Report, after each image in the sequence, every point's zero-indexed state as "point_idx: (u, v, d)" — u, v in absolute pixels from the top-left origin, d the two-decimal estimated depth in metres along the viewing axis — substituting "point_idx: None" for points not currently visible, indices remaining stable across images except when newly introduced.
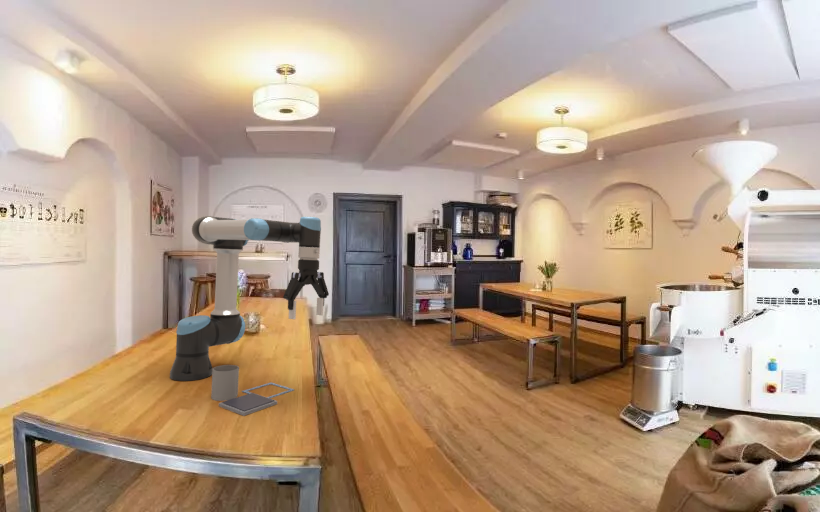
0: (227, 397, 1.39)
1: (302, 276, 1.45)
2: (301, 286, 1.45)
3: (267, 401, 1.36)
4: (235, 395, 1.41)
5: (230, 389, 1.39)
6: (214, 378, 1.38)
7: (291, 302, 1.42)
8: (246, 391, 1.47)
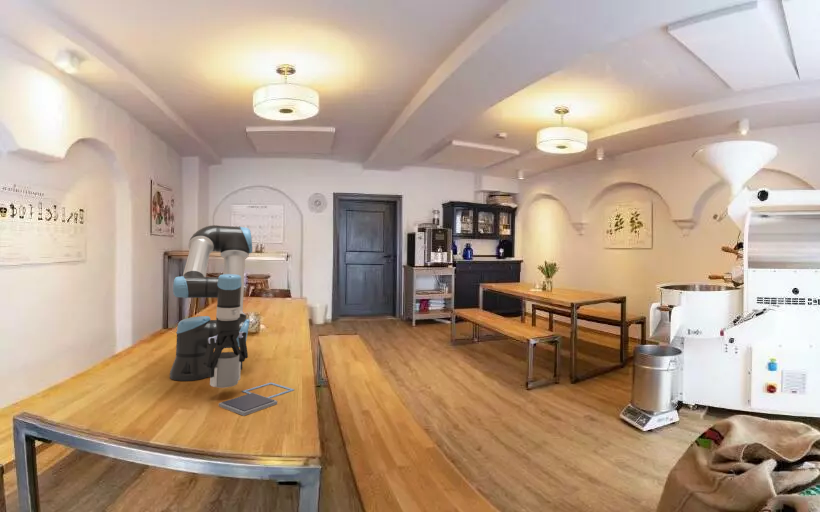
0: (227, 384, 1.39)
1: (219, 338, 1.39)
2: (220, 350, 1.39)
3: (267, 401, 1.36)
4: (235, 382, 1.42)
5: (231, 376, 1.40)
6: None
7: (211, 370, 1.37)
8: (246, 391, 1.47)
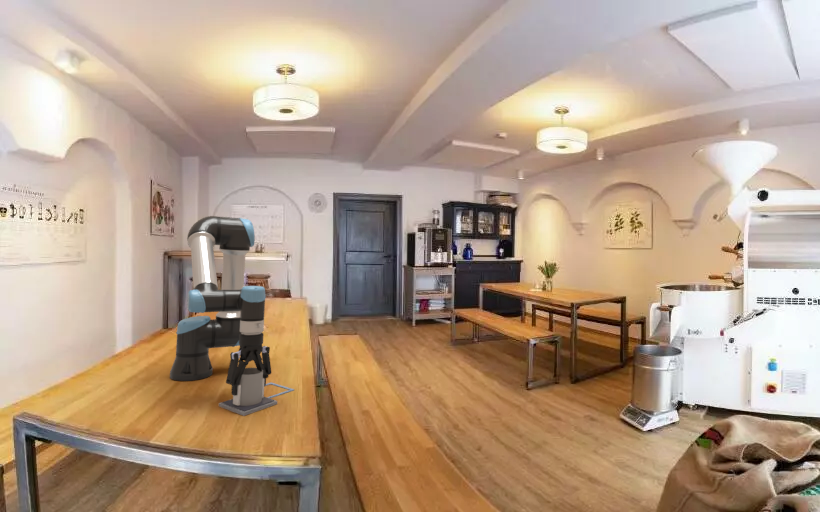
0: (252, 402, 1.32)
1: (243, 354, 1.31)
2: (244, 366, 1.32)
3: (267, 401, 1.36)
4: (259, 400, 1.34)
5: (255, 393, 1.32)
6: None
7: (235, 387, 1.30)
8: None
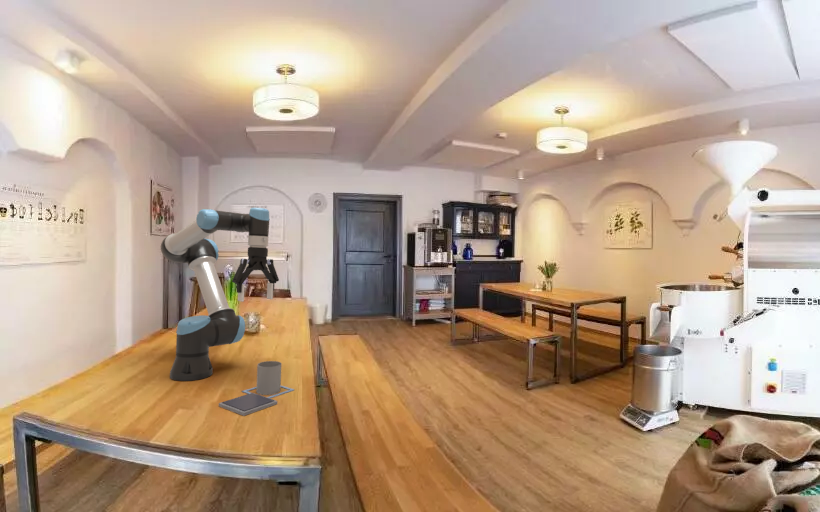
0: (272, 391, 1.46)
1: (251, 262, 1.58)
2: (249, 271, 1.58)
3: (267, 401, 1.36)
4: (278, 390, 1.49)
5: (274, 384, 1.47)
6: (259, 373, 1.46)
7: (239, 286, 1.55)
8: (246, 391, 1.47)
